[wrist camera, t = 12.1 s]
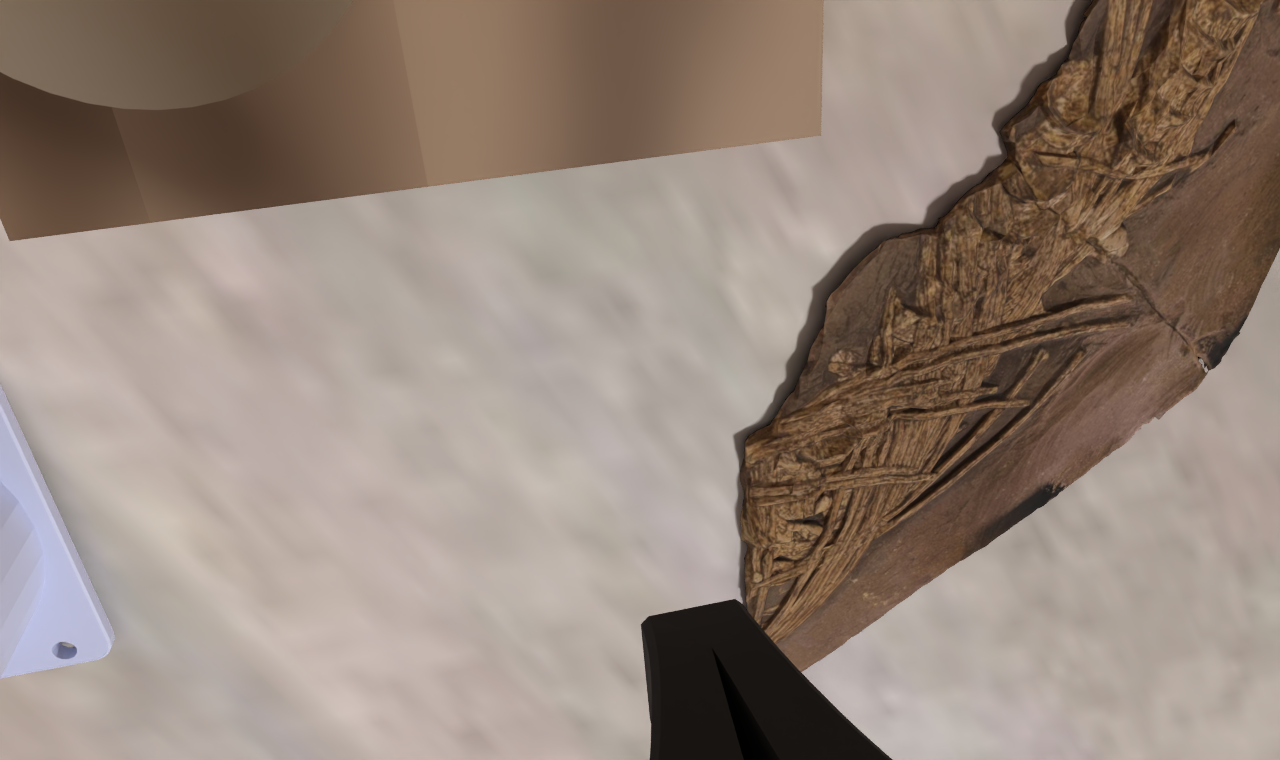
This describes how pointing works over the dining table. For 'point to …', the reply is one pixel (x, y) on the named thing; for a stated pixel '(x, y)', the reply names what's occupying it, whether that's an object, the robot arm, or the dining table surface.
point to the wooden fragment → (1024, 319)
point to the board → (425, 108)
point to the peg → (158, 47)
